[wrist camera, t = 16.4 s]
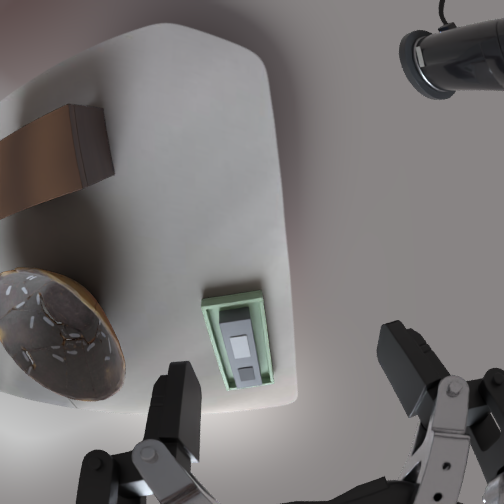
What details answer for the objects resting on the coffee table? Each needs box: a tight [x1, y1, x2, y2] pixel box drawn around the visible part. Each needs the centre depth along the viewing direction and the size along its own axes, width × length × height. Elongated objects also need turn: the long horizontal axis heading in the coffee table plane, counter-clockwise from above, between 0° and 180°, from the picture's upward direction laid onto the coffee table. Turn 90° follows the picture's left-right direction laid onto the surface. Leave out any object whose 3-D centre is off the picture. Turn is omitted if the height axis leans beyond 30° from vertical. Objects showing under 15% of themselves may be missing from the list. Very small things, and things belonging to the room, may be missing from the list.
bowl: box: [0, 267, 125, 401], centre depth 34 cm, size 25×25×10 cm
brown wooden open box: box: [0, 104, 115, 219], centre depth 25 cm, size 16×9×9 cm, turn 98°
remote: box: [219, 307, 263, 389], centre depth 42 cm, size 15×4×3 cm, turn 8°
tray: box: [201, 290, 274, 391], centre depth 43 cm, size 19×9×2 cm, turn 7°
